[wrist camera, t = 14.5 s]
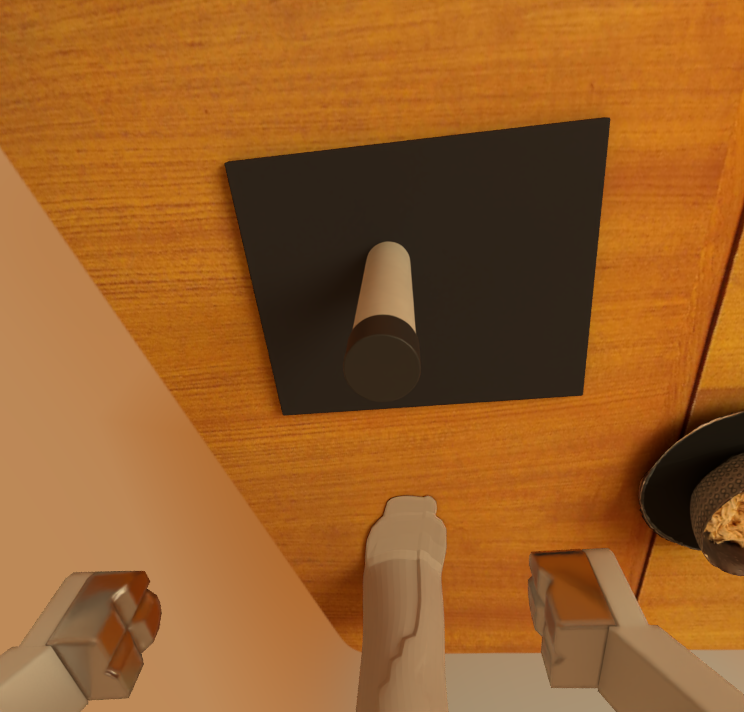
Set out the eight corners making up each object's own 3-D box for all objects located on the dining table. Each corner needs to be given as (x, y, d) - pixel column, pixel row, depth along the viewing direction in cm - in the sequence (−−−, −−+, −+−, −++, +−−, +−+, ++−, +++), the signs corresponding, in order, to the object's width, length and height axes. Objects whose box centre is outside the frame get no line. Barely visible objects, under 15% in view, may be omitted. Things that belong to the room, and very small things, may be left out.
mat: (284, 410, 38) (282, 416, 37) (227, 161, 30) (223, 162, 29) (579, 390, 36) (583, 396, 35) (605, 117, 28) (611, 117, 27)
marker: (367, 287, 32) (348, 405, 20) (362, 242, 31) (337, 337, 18) (413, 283, 32) (423, 400, 19) (409, 237, 30) (418, 331, 18)
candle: (455, 497, 41) (499, 799, 23) (435, 604, 47) (458, 905, 30) (369, 490, 41) (348, 786, 23) (361, 598, 47) (340, 895, 30)
